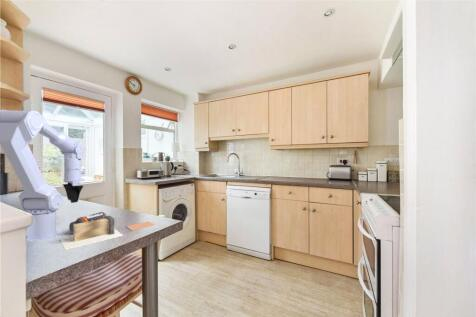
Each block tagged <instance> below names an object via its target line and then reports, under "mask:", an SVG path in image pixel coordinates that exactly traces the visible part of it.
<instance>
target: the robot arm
mask: <svg viewBox="0 0 476 317" xmlns="http://www.w3.org/2000/svg"><path fill="white" fill-rule="evenodd" d="M38 134H40V135H42V136H44V137H45V138H48V140H49V143H50V144H51V145H53V146H55V147H56V148H58V149H59V150H60V153H61V154H62V155H63V183H65V184H62V186H63V188H64V191H65V192H66V198H67V200H68V201H70V202H71V204H73V203H78V202H79V198H80V194H81V191H82V189H83V188H84V185H82V184H81V185H80V182H84V181H85V178H82V159H83V157H84V153H85V146H84V144H83V143H82V142H80V141H75V140H74V139H73V138H71V137H70V136H69V135H68V134H67V133H66V132H65V131H58V130H56V129H55V128H53V127H52V125H50V124H49V123H48V122H47V121H46V118H45V116H44V115H43V114H41V113H40V112H39V111H37V110H8V109H0V147H1V148H2V150H3V152H4V154H5V155H6V158H7V160H8V161H9V163H10V165H11V167H12V169H13V171H14V173H15V174H16V177H17V178H18V180H19V182H20V183H21V184H20V185H21V186H22V188H23V190H22V191H21V192H20V193H19V195H18V199H19V202H20V209H22V211H24V212H28V213H31V214H32V215H33V223H32V225H31V226H30V227H28V228H27V230H26V236H27V237H26V239H27V243H31V242H36V241H40V240H46V239H50V238H55V237H59V236H60V235H59V232H58V231H57V211H59V209H60V208H61V206H63V201H64V199H63V195H62V194H61V193H60V192H58V190H57V188H56V187H54V186H52V185H49V184H48V183H47V182H46V180H45V178H44V175H43V174H42V172H41V169H40V167H39V165H38V163H37V160H36V159H35V157H34V154H33V152H32V150H31V147H30V146H29V141H31V140H34V138H35V137H36V136H37V135H38ZM28 240H29V241H30V242H28Z"/></svg>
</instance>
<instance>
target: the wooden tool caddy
mask: <svg viewBox="0 0 476 317" xmlns="http://www.w3.org/2000/svg"><path fill="white" fill-rule="evenodd" d="M114 228H115V218H114V217H112V216H111V215H106V219H100V220H95V221H90V222H84V223H79V224H73V233H72V236H73V240H74V241H75V242H76V241H80V240H84V239H89V238H93V237H97V236H101V235H106V234H110V235H111V234H114Z"/></svg>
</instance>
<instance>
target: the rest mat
mask: <svg viewBox="0 0 476 317" xmlns="http://www.w3.org/2000/svg"><path fill="white" fill-rule="evenodd" d="M123 236H124V235H123V234H122V233H121V232H120V231H119V230H117V229H116V228H115V227H114V234H111V235H110V234H106V235H101V236H97V237H93V238H89V239H84V240H80V241H76V242H75V241H74V240H73V235H72V236H67V237H62V238H59V239H60V241H61V244H62V246H63V249H64V250H65V251H67V250H71V249H75V248H79V247H83V246H87V245H91V244H95V243H99V242H103V241H107V240H112V239H114V238H115V239H116V238H119V237H123Z"/></svg>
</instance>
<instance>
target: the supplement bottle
mask: <svg viewBox="0 0 476 317" xmlns="http://www.w3.org/2000/svg"><path fill="white" fill-rule="evenodd" d="M106 216H107V214H106V213H105V212H103V211H99V212H96V213H93V214H88V215H84V216H80V217H78V218H77V219H76V220H74V221H70V223H69V225H68V226H69V228H68V229H69V232H70V233H72V234H73V224H79V223H84V222H90V221H95V220H100V219H106Z"/></svg>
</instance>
